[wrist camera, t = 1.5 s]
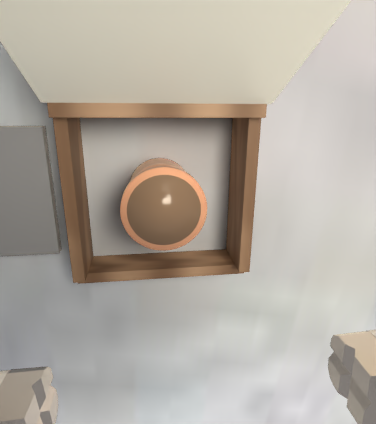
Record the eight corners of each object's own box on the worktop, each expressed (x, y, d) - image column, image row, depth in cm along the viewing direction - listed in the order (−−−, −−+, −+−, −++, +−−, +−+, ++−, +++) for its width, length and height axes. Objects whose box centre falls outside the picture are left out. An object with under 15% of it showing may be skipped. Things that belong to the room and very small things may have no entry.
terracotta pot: (126, 222, 32) (122, 252, 26) (122, 154, 30) (117, 169, 24) (193, 219, 33) (206, 248, 27) (194, 153, 31) (208, 167, 25)
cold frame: (84, 265, 33) (72, 298, 28) (66, 102, 28) (46, 102, 23) (234, 257, 35) (251, 286, 30) (243, 103, 30) (266, 103, 25)
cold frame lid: (-236, -313, 6) (-224, -371, 7) (41, 102, 22) (41, 81, 23) (507, -204, 8) (495, -251, 9) (271, 103, 25) (269, 84, 25)
